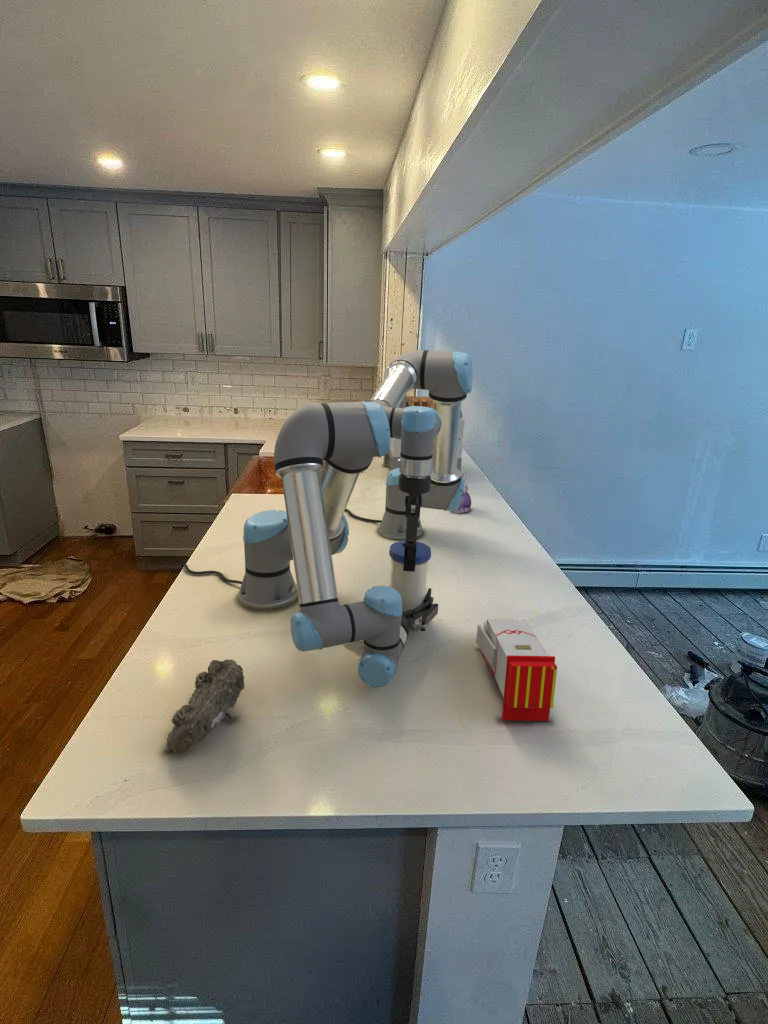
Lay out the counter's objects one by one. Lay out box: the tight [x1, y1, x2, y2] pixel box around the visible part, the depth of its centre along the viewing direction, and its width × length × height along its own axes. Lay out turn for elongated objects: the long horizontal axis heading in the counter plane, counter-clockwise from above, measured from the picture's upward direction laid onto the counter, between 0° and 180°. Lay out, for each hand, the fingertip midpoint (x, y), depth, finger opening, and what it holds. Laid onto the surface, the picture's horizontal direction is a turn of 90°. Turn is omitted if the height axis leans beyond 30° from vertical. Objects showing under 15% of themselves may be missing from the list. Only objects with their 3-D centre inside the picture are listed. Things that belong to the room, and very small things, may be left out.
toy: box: [475, 618, 558, 722], centre depth 122 cm, size 12×13×30 cm
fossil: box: [166, 658, 245, 754], centre depth 106 cm, size 22×10×15 cm
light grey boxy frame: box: [383, 392, 465, 473], centre depth 268 cm, size 34×33×41 cm
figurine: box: [452, 472, 472, 514], centre depth 224 cm, size 9×10×15 cm
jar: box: [388, 557, 430, 629], centre depth 142 cm, size 9×9×19 cm
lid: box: [388, 540, 432, 564], centre depth 139 cm, size 10×10×2 cm
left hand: (410, 590), depth 147 cm, fingers closed on jar, 9 cm apart
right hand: (409, 561), depth 140 cm, fingers closed on lid, 10 cm apart
